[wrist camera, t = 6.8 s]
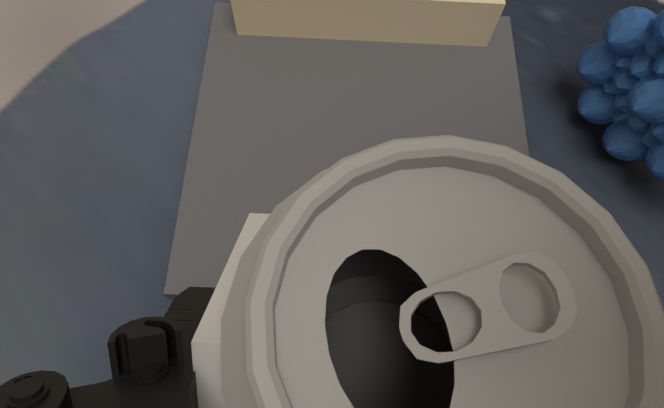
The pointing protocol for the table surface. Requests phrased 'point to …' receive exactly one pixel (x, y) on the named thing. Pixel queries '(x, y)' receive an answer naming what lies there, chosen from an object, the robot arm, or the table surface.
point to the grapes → (627, 86)
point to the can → (441, 290)
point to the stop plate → (330, 103)
